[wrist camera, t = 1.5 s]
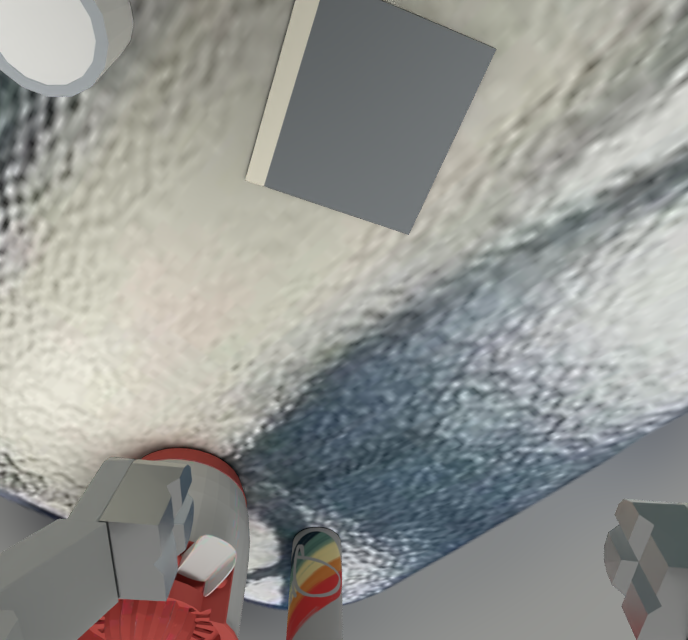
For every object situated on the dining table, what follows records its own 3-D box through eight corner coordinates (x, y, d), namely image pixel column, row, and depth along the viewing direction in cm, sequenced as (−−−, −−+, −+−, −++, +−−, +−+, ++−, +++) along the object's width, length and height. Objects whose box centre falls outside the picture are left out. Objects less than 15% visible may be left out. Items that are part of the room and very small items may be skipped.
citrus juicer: (301, 470, 60) (289, 675, 44) (206, 545, 67) (165, 746, 51) (173, 396, 54) (103, 602, 37) (84, 487, 61) (-9, 694, 45)
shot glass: (92, 93, 38) (49, 123, 33) (5, -4, 35) (-59, 10, 29) (166, 29, 36) (135, 48, 31) (82, -80, 33) (29, -81, 27)
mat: (304, -33, 35) (304, -32, 34) (495, 48, 37) (496, 49, 37) (245, 177, 42) (245, 180, 42) (408, 232, 45) (408, 235, 44)
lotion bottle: (312, 519, 65) (305, 722, 48) (351, 538, 67) (357, 739, 50) (283, 543, 67) (266, 744, 51) (321, 561, 69) (317, 759, 53)
